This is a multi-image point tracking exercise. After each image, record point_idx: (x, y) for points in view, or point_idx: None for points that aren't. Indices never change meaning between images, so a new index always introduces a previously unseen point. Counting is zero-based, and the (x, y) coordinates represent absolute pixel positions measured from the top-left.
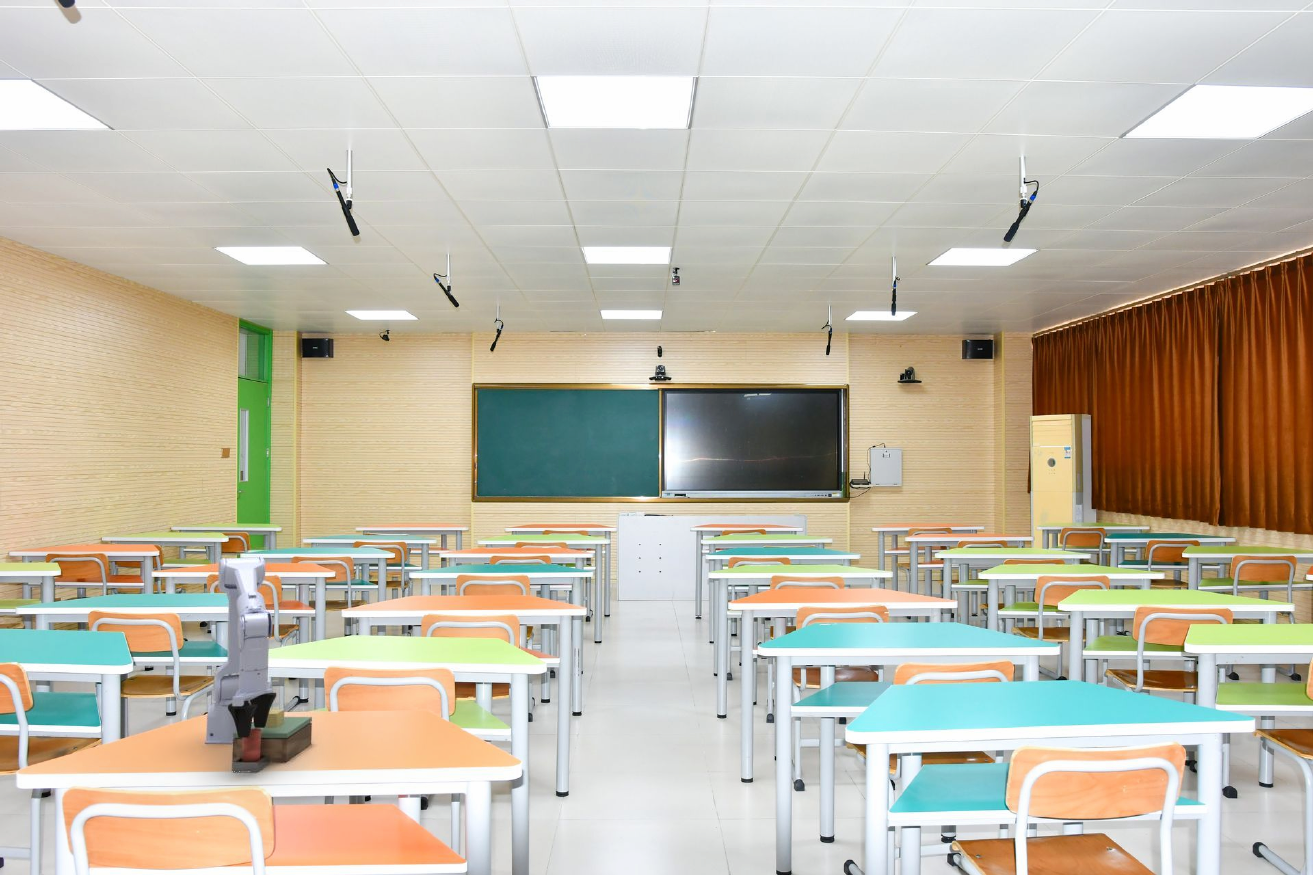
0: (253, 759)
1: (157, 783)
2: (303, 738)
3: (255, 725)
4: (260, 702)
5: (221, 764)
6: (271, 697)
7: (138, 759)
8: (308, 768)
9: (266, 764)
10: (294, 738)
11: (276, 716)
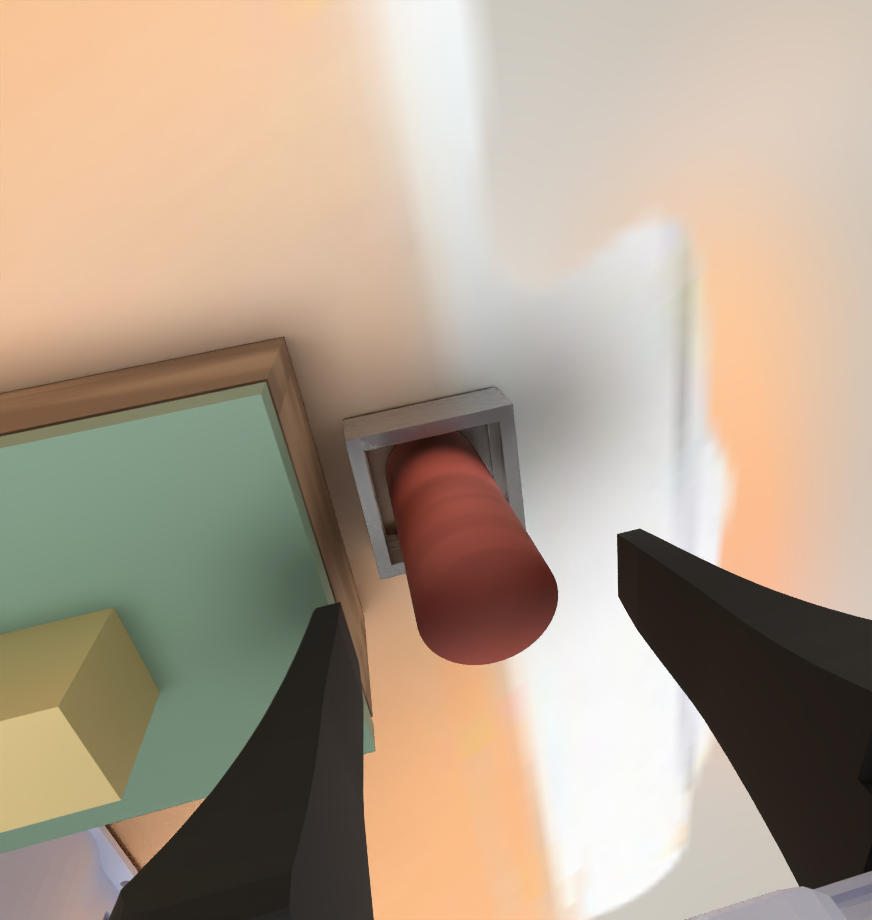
0: (479, 460)
1: (656, 679)
2: None
3: (358, 673)
4: (346, 881)
5: (394, 641)
6: (298, 873)
7: (405, 905)
8: (344, 93)
9: (385, 414)
10: (107, 401)
11: (72, 685)
